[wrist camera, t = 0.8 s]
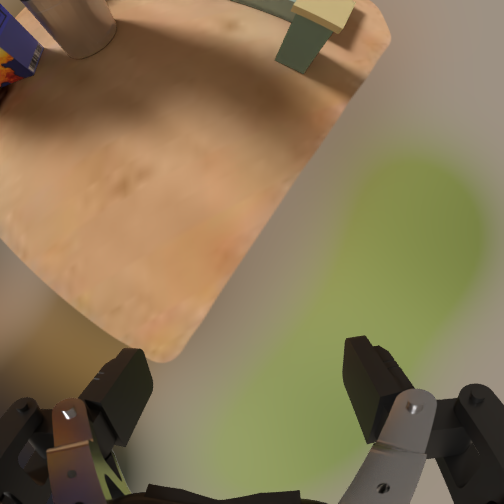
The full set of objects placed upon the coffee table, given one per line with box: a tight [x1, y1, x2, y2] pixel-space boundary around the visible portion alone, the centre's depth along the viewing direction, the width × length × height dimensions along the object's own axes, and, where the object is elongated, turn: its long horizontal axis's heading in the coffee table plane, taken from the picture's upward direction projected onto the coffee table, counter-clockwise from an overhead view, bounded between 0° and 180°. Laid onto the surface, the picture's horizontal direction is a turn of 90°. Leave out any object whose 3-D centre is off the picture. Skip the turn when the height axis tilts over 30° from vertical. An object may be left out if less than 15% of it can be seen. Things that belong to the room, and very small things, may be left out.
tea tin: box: [275, 0, 356, 74], centre depth 26 cm, size 6×7×13 cm
